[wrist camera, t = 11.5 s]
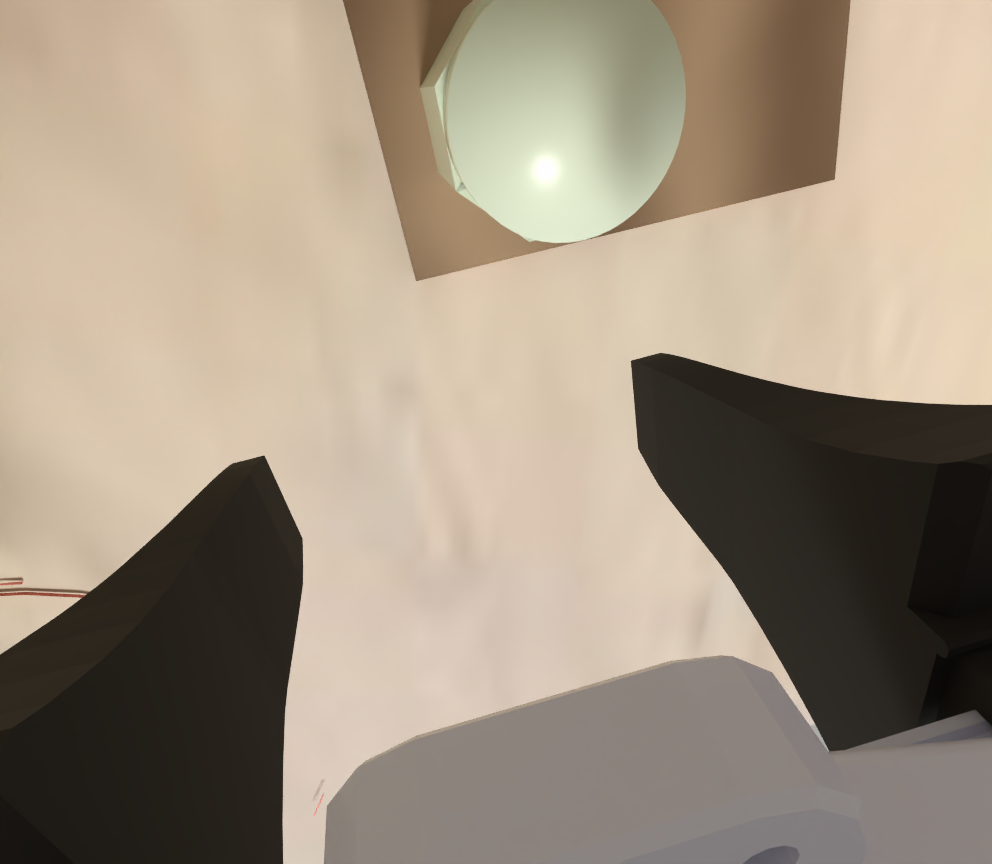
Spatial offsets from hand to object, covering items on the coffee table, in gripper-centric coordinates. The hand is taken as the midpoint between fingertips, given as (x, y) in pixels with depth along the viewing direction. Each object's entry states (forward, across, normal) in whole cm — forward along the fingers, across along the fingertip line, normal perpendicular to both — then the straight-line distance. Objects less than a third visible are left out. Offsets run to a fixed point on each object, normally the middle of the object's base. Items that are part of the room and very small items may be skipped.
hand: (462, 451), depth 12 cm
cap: (+9, -4, -5) cm, 11 cm away
